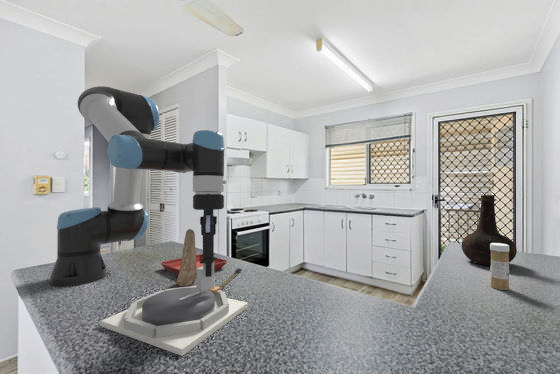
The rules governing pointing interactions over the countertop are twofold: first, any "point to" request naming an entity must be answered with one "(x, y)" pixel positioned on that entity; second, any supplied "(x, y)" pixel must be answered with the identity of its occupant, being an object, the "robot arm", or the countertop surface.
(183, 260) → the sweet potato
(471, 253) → the dark brown vase
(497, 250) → the sprinkles bottle
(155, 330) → the panel
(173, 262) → the plant saucer
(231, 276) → the tomahawk
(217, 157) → the robot arm
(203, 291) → the dial
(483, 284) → the countertop surface
